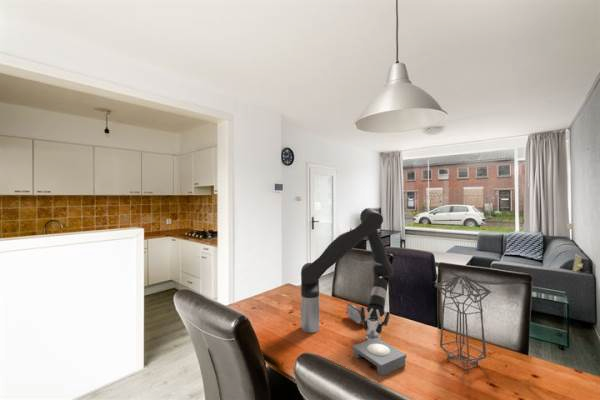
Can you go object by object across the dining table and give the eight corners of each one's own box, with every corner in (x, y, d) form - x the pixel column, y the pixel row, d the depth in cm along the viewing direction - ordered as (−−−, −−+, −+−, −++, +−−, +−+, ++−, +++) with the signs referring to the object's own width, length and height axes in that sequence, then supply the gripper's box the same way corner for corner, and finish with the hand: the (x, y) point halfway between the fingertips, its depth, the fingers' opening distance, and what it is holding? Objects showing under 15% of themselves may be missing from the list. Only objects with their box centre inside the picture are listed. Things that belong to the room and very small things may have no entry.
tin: (366, 326, 141) (365, 310, 141) (361, 327, 140) (360, 311, 140) (350, 315, 155) (350, 300, 155) (345, 316, 154) (345, 301, 154)
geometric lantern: (432, 356, 113) (431, 272, 115) (459, 349, 119) (458, 269, 120) (467, 378, 99) (466, 281, 100) (496, 369, 104) (494, 278, 105)
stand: (352, 355, 114) (352, 345, 114) (376, 346, 121) (376, 336, 121) (381, 376, 100) (381, 364, 100) (406, 365, 107) (406, 353, 107)
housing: (363, 337, 129) (362, 317, 129) (373, 334, 133) (372, 314, 133) (373, 343, 124) (372, 322, 124) (383, 340, 127) (383, 319, 127)
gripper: (362, 292, 138) (355, 324, 128) (391, 296, 131) (386, 331, 121) (365, 299, 143) (358, 331, 132) (393, 304, 136) (389, 338, 125)
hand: (372, 331), depth 127 cm, fingers open, 5 cm apart
